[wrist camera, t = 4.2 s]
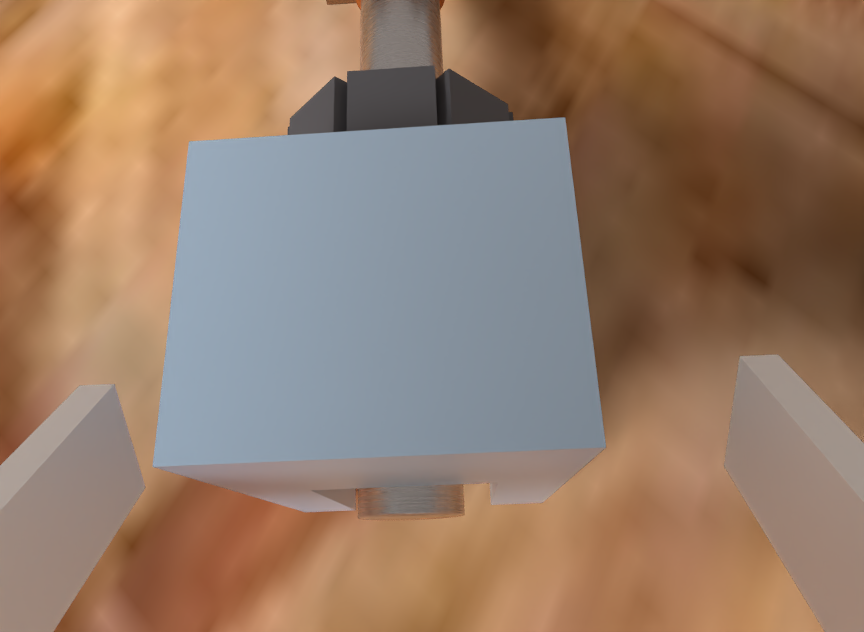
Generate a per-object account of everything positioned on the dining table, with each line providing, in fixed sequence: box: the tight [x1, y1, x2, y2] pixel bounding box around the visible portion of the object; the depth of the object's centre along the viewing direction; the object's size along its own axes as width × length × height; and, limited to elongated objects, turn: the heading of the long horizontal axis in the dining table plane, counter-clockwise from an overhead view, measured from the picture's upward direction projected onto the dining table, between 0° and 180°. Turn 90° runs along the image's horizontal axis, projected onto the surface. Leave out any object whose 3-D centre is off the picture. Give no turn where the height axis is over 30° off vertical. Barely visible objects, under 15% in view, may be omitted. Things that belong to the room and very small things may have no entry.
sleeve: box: [153, 117, 606, 512], centre depth 16 cm, size 6×7×10 cm
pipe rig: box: [326, 0, 464, 520], centre depth 21 cm, size 25×7×7 cm, turn 2°
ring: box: [288, 65, 513, 135], centre depth 19 cm, size 2×6×6 cm, turn 92°
